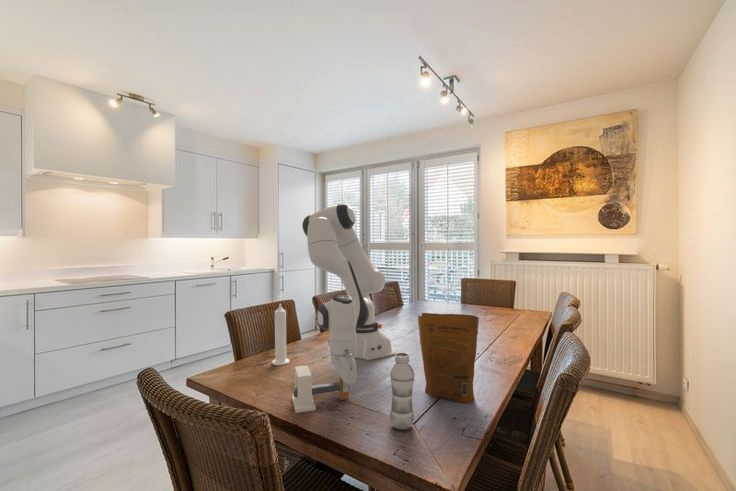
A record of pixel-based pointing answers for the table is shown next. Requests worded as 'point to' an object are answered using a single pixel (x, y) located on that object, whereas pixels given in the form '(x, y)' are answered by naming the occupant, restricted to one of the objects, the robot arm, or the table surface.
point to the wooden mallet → (327, 389)
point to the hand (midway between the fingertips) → (343, 387)
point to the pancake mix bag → (449, 354)
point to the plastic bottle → (402, 393)
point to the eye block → (303, 390)
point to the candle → (280, 337)
